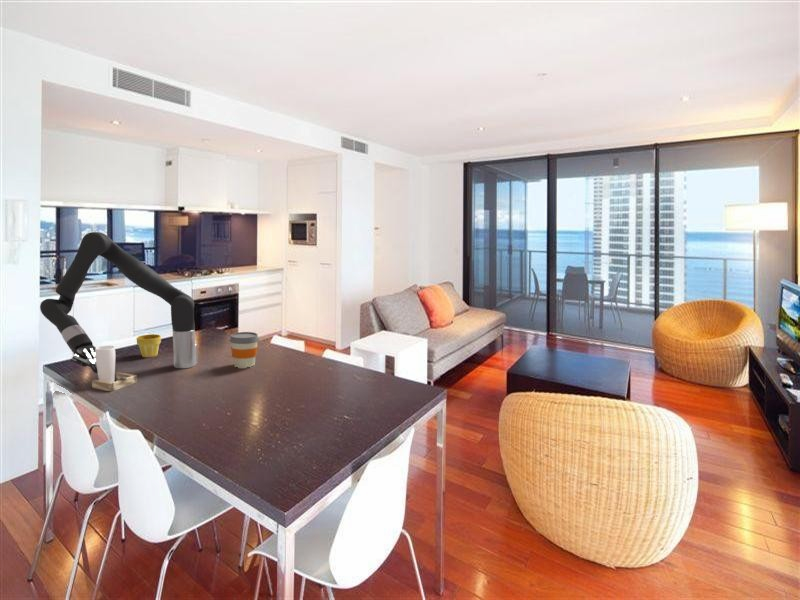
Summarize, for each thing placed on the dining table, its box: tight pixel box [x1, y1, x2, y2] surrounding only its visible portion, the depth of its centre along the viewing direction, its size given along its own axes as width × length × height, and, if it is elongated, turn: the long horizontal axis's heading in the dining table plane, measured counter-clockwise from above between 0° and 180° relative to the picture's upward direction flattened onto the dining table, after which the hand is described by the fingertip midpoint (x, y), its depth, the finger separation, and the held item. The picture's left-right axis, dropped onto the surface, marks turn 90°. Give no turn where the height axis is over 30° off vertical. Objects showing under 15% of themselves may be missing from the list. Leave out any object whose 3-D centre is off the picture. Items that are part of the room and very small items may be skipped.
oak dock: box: [91, 371, 138, 392], centre depth 174 cm, size 11×10×4 cm
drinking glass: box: [95, 345, 117, 383], centre depth 175 cm, size 7×7×15 cm
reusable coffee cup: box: [229, 331, 259, 369], centre depth 205 cm, size 12×13×15 cm
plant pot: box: [136, 333, 162, 358], centre depth 214 cm, size 10×10×10 cm
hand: (99, 371), depth 176 cm, fingers closed
